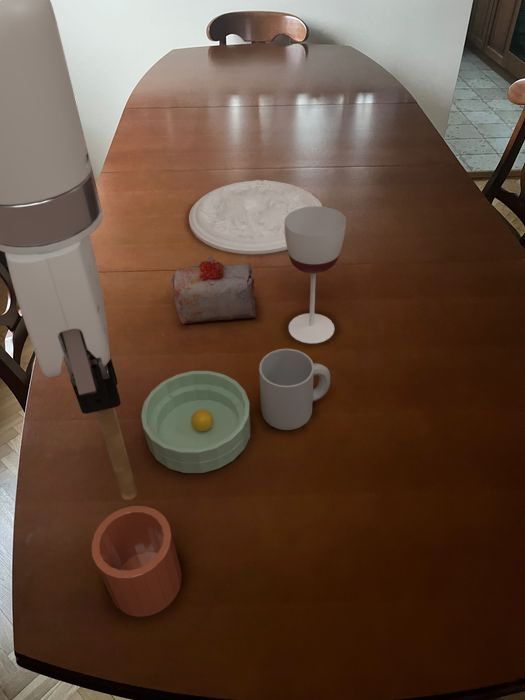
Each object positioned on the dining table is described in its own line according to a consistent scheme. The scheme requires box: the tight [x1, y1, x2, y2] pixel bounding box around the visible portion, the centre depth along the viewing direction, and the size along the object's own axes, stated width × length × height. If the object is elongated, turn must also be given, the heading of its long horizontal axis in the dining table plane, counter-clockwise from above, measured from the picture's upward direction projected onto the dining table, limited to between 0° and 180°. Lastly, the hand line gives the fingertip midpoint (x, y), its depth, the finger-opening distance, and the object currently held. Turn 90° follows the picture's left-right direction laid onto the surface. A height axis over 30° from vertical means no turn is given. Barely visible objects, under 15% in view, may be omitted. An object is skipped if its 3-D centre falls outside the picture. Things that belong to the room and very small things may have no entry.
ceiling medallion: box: [188, 179, 324, 255], centre depth 122 cm, size 28×28×3 cm
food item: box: [170, 255, 258, 325], centre depth 97 cm, size 14×8×10 cm, turn 95°
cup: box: [258, 348, 331, 431], centre depth 81 cm, size 7×10×9 cm
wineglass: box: [285, 206, 347, 344], centre depth 90 cm, size 8×9×20 cm
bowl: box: [140, 370, 252, 474], centre depth 80 cm, size 14×14×5 cm
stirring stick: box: [90, 359, 138, 501], centre depth 53 cm, size 2×2×20 cm
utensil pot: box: [91, 505, 183, 618], centre depth 63 cm, size 8×8×9 cm
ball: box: [191, 410, 213, 432], centre depth 80 cm, size 3×3×3 cm
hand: (100, 396), depth 50 cm, fingers closed on stirring stick, 1 cm apart
